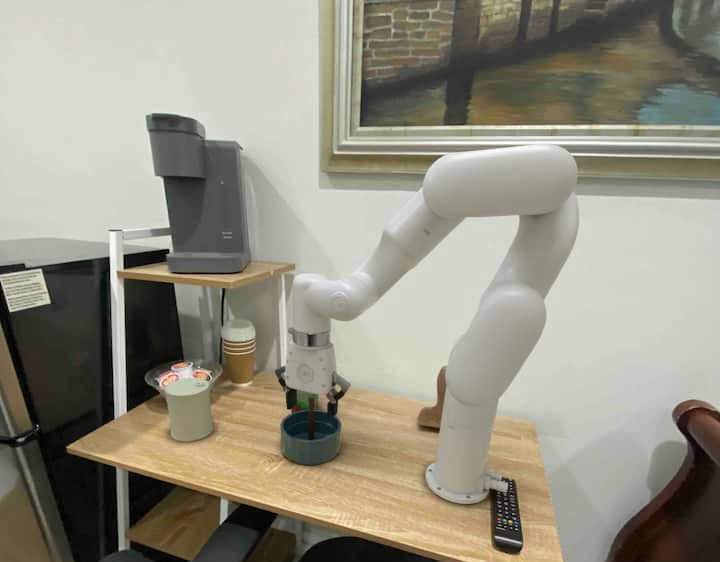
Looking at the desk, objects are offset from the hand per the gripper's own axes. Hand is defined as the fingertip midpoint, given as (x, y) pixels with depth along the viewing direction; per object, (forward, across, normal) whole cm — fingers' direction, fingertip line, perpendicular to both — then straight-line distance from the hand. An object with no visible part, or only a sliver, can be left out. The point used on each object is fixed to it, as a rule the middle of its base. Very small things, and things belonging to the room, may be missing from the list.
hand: (311, 411), depth 84 cm
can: (+9, -28, -6) cm, 30 cm away
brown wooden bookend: (+9, +26, +25) cm, 37 cm away
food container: (+9, -8, +14) cm, 19 cm away
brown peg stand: (+8, 0, 0) cm, 8 cm away
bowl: (+9, 0, 0) cm, 9 cm away
